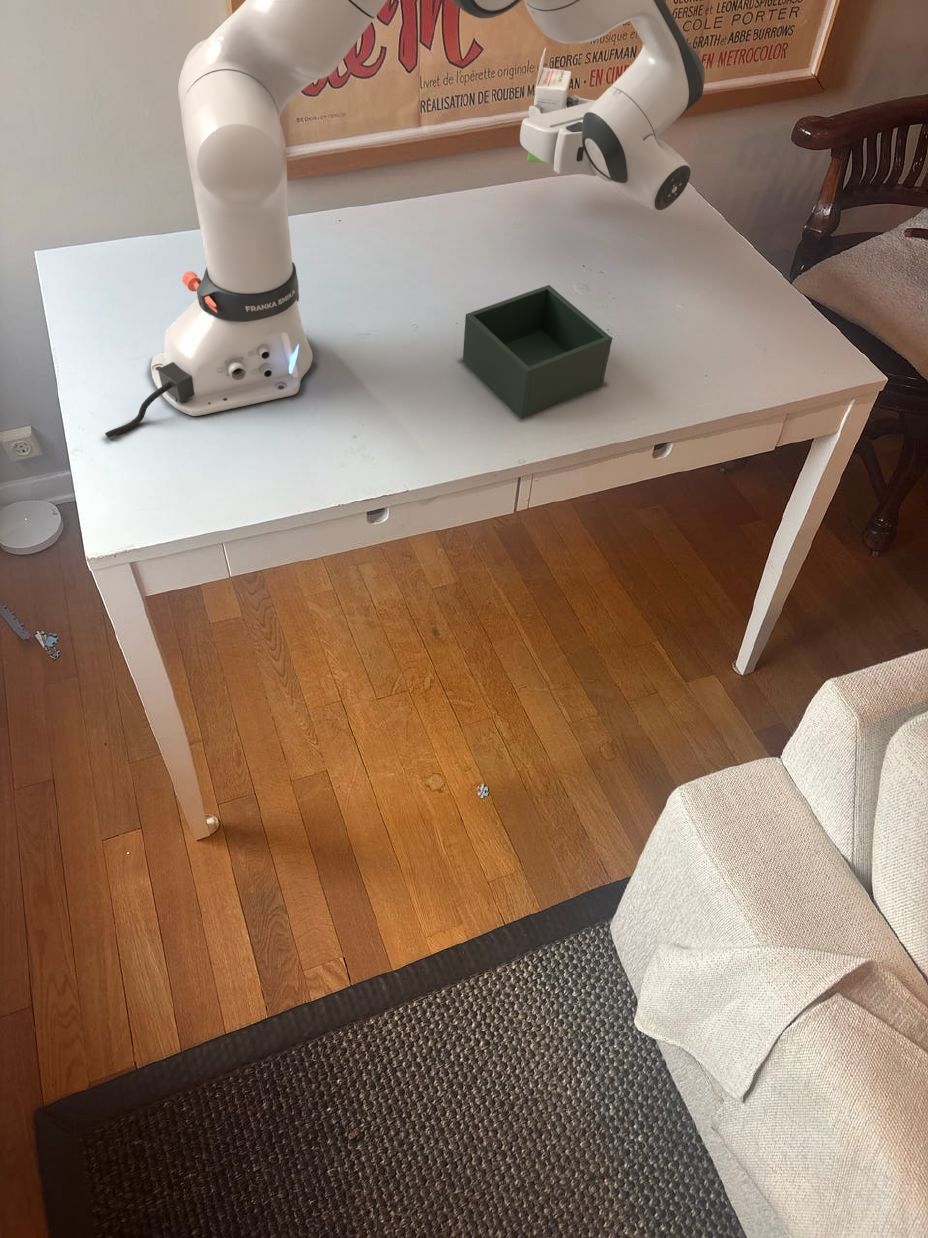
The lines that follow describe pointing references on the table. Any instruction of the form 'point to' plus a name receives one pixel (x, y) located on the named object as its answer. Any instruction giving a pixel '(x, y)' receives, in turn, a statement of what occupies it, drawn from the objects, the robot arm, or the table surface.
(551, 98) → the ink box
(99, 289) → the table surface
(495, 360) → the open storage bin
